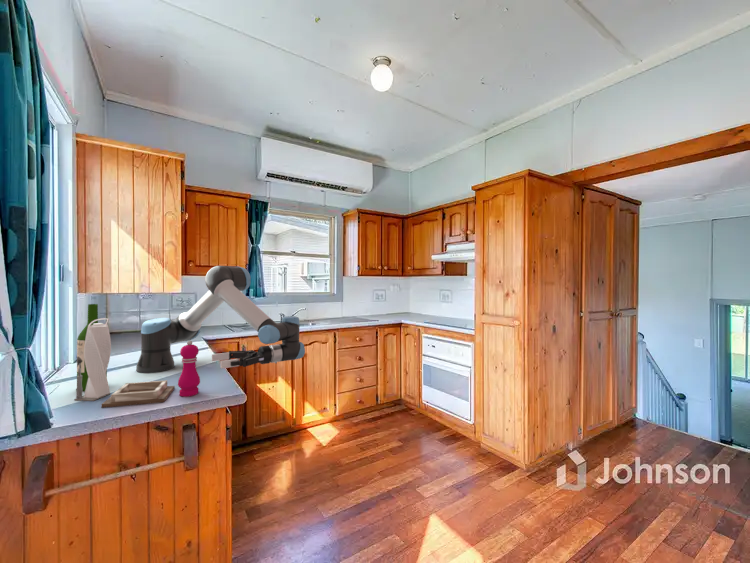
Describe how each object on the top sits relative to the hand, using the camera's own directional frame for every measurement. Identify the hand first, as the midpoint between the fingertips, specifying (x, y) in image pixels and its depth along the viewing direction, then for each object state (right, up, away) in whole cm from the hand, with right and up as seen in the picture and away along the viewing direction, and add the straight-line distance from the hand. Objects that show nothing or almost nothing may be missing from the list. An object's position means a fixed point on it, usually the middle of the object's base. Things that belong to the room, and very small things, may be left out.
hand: (216, 361), depth 131 cm
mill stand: (-22, -11, -10) cm, 27 cm away
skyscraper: (-39, -11, -10) cm, 41 cm away
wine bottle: (-48, -10, 0) cm, 49 cm away
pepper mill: (-7, -11, -6) cm, 15 cm away
